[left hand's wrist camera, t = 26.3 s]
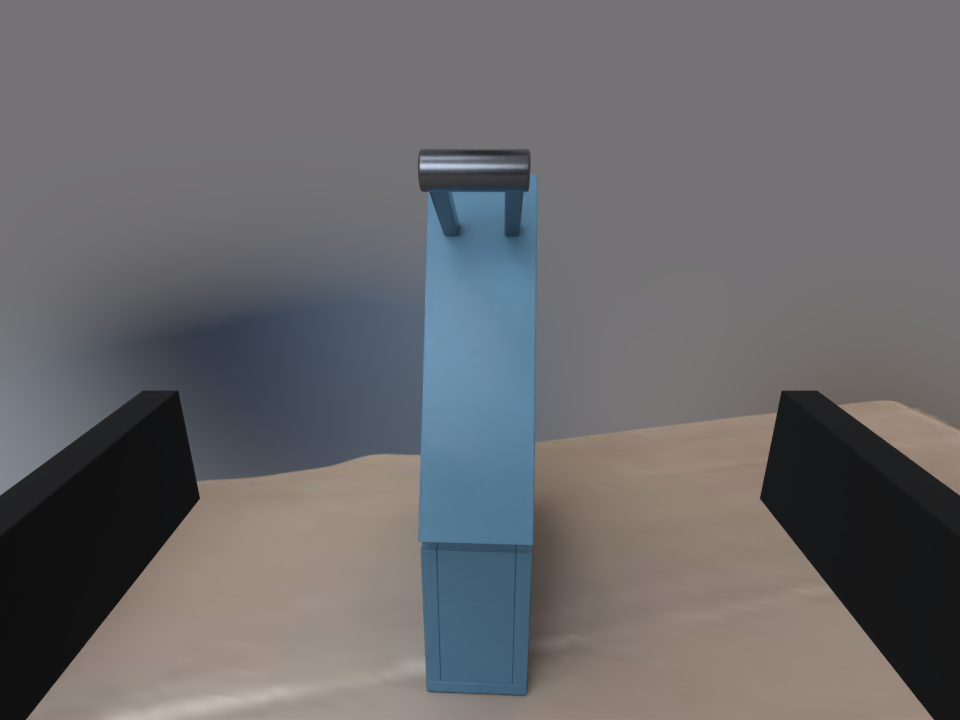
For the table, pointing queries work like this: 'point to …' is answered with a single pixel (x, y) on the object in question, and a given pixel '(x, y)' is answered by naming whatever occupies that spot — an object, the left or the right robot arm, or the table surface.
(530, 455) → the lid
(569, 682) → the table surface
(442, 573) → the chest
